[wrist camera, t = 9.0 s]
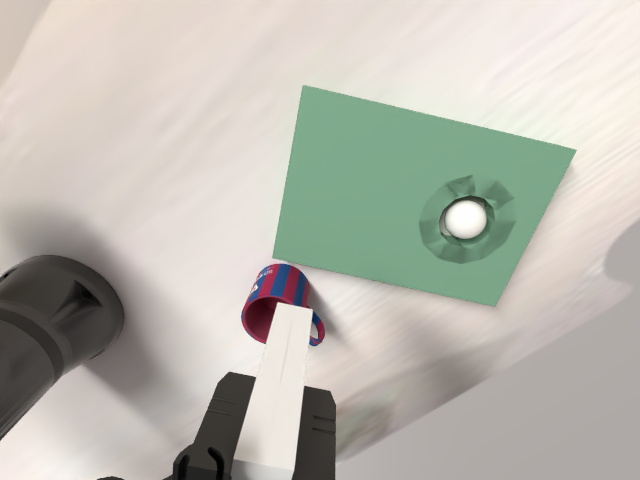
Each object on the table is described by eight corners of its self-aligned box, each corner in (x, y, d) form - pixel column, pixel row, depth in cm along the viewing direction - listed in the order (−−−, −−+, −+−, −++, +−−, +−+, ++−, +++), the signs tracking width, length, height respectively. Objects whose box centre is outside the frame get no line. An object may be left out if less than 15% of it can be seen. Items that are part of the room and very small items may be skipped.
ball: (431, 227, 37) (458, 247, 34) (445, 193, 35) (475, 211, 32) (456, 226, 39) (484, 244, 36) (471, 194, 37) (501, 210, 34)
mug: (279, 252, 41) (268, 282, 35) (338, 303, 43) (338, 340, 37) (245, 286, 43) (228, 319, 37) (303, 332, 45) (296, 371, 39)
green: (276, 248, 40) (272, 258, 38) (305, 85, 33) (302, 85, 31) (486, 294, 41) (495, 306, 39) (561, 145, 34) (576, 150, 32)
